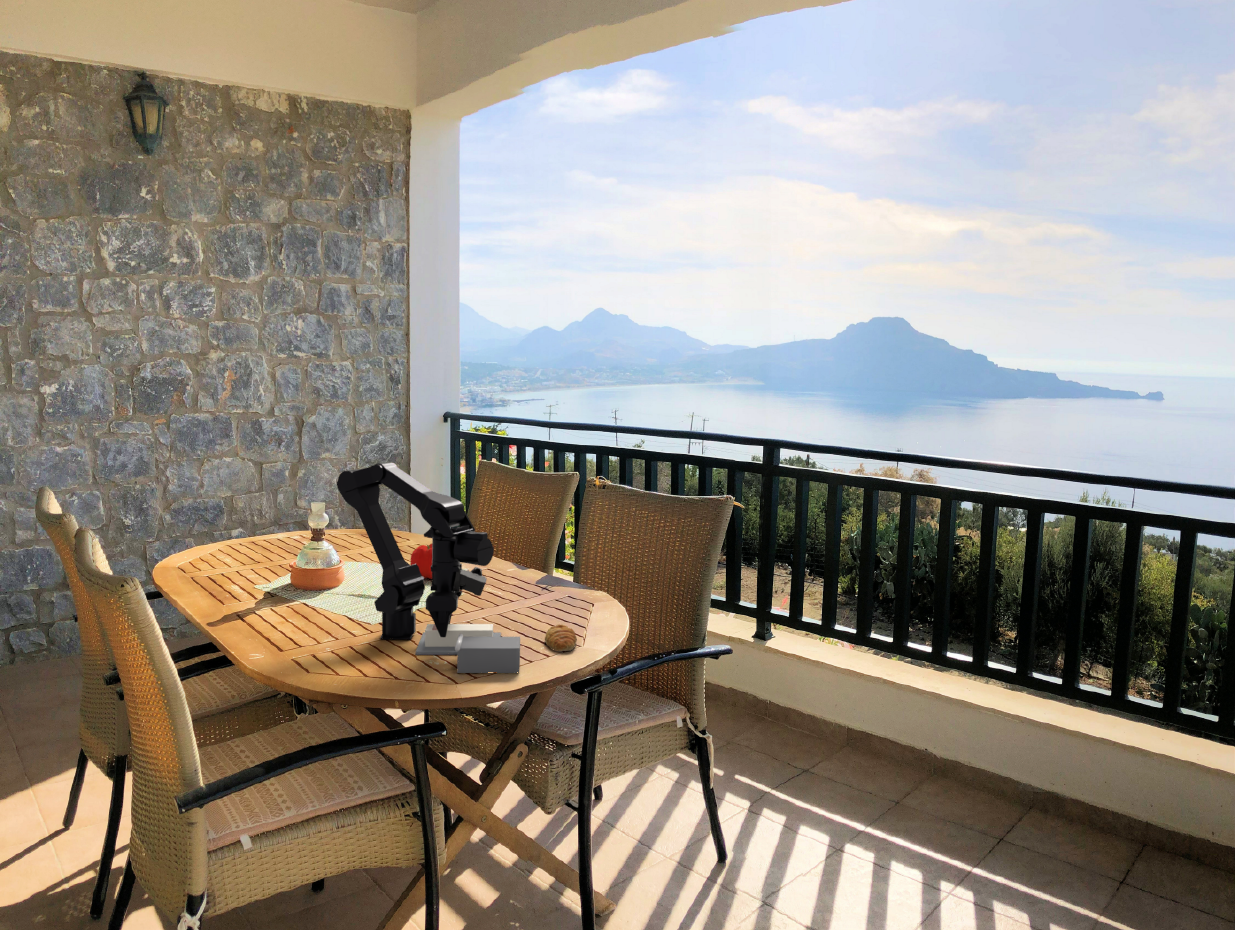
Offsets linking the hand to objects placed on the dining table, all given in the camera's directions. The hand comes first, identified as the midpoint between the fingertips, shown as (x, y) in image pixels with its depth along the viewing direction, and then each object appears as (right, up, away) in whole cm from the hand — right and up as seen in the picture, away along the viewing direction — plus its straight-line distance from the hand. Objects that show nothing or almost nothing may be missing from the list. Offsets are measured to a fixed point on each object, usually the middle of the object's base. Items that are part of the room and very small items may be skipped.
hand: (445, 631), depth 183 cm
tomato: (-16, +4, +59) cm, 61 cm away
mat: (+3, -3, +2) cm, 4 cm away
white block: (+3, -3, +1) cm, 4 cm away
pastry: (+25, -4, +4) cm, 25 cm away
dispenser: (+11, -5, -12) cm, 17 cm away
